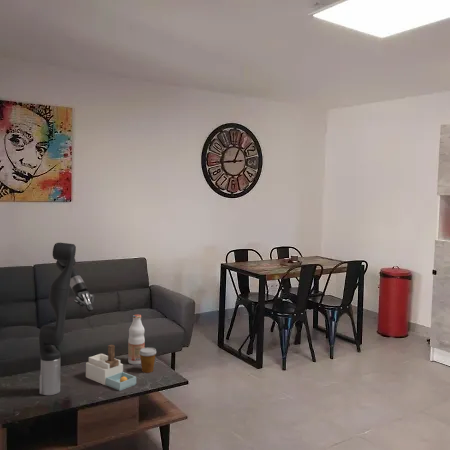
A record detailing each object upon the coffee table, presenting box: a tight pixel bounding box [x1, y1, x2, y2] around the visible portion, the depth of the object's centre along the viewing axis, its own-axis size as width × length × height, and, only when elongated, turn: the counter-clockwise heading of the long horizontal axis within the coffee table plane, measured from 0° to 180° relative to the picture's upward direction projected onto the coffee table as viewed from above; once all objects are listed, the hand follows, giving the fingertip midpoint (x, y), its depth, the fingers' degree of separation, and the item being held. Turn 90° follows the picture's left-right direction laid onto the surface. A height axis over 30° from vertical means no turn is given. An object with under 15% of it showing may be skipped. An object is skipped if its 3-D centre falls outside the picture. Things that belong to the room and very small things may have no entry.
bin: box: [105, 371, 137, 391], centre depth 257 cm, size 11×11×4 cm
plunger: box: [105, 344, 119, 368], centre depth 261 cm, size 5×4×11 cm
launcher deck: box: [85, 353, 124, 386], centre depth 265 cm, size 12×16×10 cm
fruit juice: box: [127, 314, 146, 366], centre depth 290 cm, size 9×9×28 cm
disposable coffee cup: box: [139, 347, 157, 374], centre depth 277 cm, size 10×10×12 cm
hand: (91, 311), depth 271 cm, fingers closed
